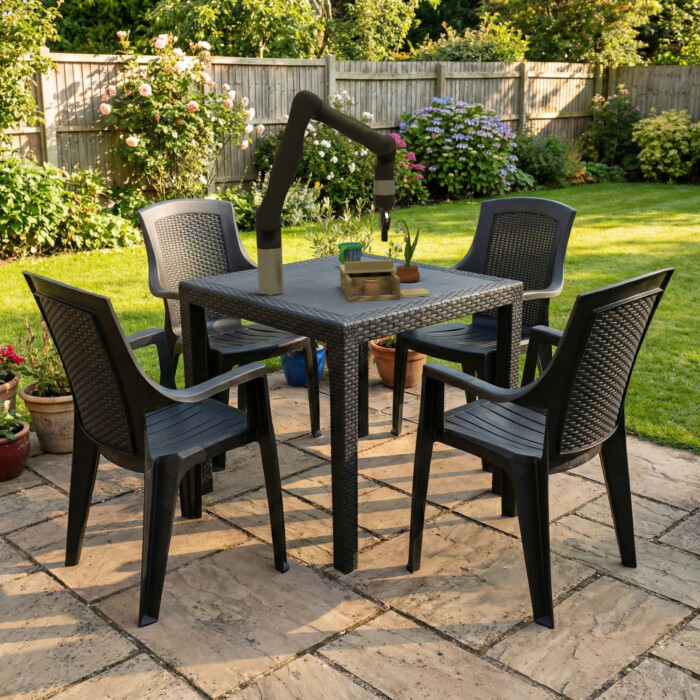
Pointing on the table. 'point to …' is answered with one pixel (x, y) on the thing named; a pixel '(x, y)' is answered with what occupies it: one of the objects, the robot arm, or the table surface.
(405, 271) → the potted flower
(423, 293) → the stone tile
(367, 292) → the clay pot
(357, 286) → the open wooden frame
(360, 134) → the robot arm
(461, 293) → the table surface
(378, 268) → the lid
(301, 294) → the table surface
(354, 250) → the snack cup
